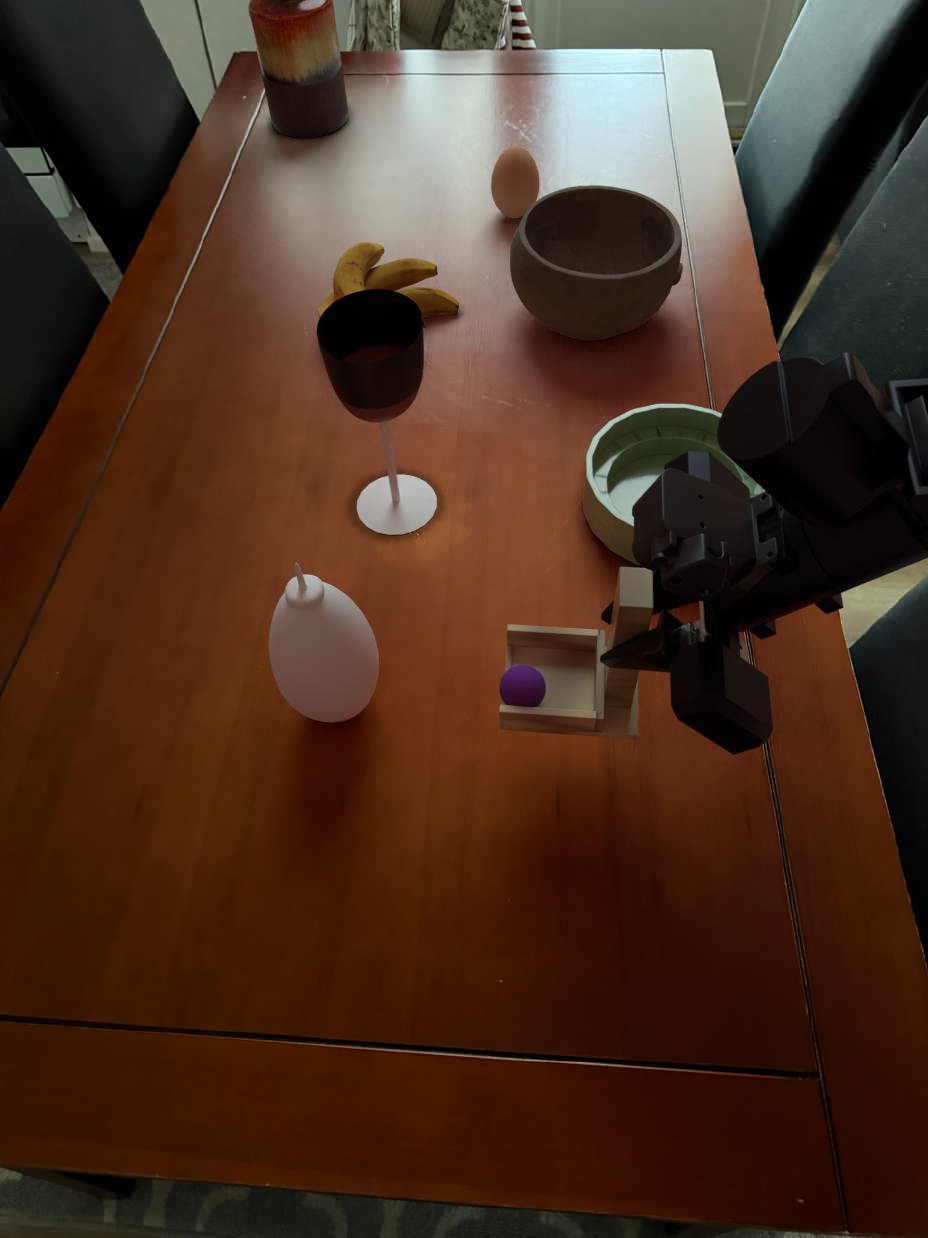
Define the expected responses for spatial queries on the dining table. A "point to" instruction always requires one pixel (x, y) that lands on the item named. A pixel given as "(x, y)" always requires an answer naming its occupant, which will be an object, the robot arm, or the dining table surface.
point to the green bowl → (643, 464)
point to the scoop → (583, 669)
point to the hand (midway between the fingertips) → (604, 640)
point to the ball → (522, 686)
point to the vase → (300, 65)
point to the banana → (388, 279)
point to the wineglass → (379, 392)
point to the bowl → (595, 260)
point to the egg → (515, 182)
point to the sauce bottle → (322, 651)
